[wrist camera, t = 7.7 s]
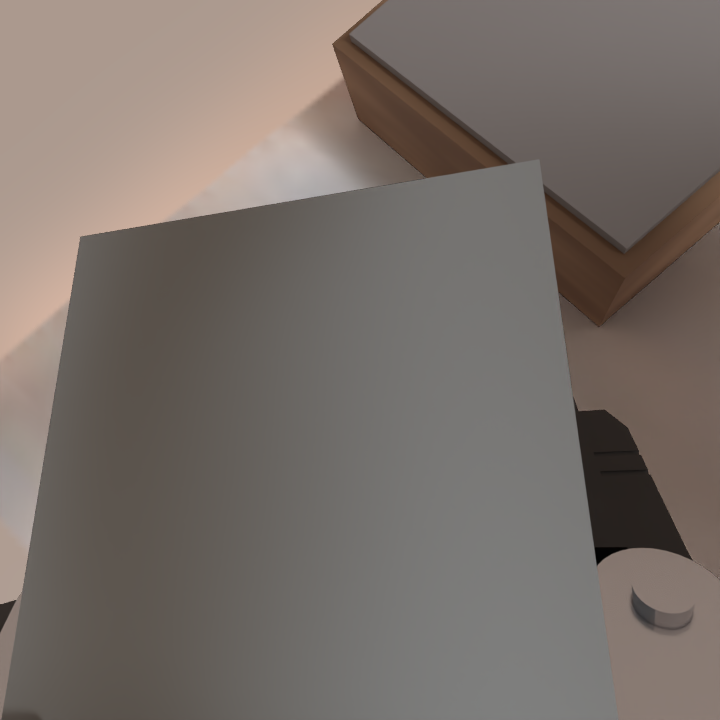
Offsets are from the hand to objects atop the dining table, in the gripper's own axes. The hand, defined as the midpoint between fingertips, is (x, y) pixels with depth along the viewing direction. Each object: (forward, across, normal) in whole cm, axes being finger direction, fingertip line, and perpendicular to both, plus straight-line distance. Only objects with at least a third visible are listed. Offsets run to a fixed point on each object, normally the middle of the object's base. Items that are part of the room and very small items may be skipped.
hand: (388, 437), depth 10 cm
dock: (+15, -8, -5) cm, 18 cm away
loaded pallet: (+5, 0, +6) cm, 8 cm away
